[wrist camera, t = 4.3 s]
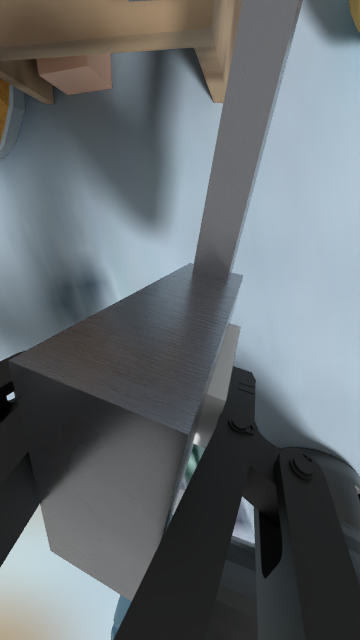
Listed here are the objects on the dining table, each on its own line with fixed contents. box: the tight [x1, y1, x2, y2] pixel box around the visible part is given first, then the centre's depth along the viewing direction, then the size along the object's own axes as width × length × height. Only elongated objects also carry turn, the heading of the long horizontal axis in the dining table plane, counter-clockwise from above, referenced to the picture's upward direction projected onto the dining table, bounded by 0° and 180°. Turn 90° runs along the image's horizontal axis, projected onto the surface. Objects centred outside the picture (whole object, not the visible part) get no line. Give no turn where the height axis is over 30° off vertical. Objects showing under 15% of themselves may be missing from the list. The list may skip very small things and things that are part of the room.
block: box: [36, 53, 112, 95], centre depth 22 cm, size 6×6×4 cm
